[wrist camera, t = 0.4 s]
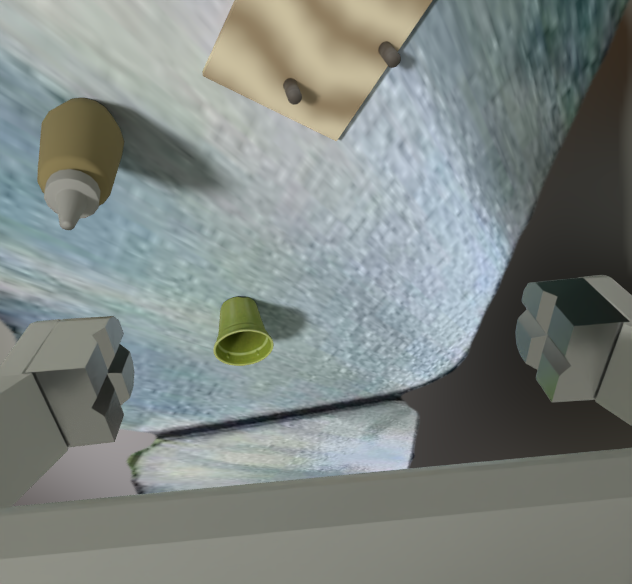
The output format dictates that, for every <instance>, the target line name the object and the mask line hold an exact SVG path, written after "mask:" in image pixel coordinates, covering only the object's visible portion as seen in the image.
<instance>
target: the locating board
mask: <svg viewBox="0 0 632 584" xmlns="http://www.w3.org/2000/svg"><path fill="white" fill-rule="evenodd" d="M431 2H432V0H235V1H234V3H233V5H232V7H231V10H230V12H229V14H228V16H227V19H226V21H225V23H224V25H223V27H222V30H221V32H220V34H219V36H218V38H217V41H216V43H215V45H214V47H213V50H212V52H211V54H210V56H209V58H208V61H207V63H206V65H205V67H204V69H203V76H204V77H206V78H208V79H210V80H212V81H214V82H216V83H218V84H220V85H222V86H225V87H227V88H229V89H231V90H233V91H235V92H237V93H239V94H241V95H243V96H245V97H247V98H249V99H251V100H253V101H255V102H257V103H259V104H261V105H263V106H265V107H267V108H269V109H271V110H274V111H276V112H278V113H280V114H282V115H284V116H286V117H288V118H290V119H292V120H294V121H296V122H298V123H300V124H302V125H304V126H306V127H308V128H310V129H312V130H314V131H316V132H318V133H320V134H323V135H325V136H327V137H329V138H331V139H333V140H335V141H337V140H338V138H339V137H340V135H341V134H342V133H343V131H344V130H345V128H346V127H347V125H348V124H349V122H350V121H351V119H352V118H353V116H354V115H355V113H356V112H357V111H358V109H359V108H360V106H361V105H362V103H363V102H364V100H365V99H366V97H367V96H368V94H369V93H370V91H371V90H372V88H373V87H374V86H375V84H376V83H377V81H378V80H379V78H380V77H381V75H382V74H383V72H384V71H385V69H386V68H387V66H389V67H391V68H393V67H396V66H397V65H398V64H399V63H400V60H401V57H400V54H399V53H398V50H399V49H400V47H401V46H402V44H403V43H404V41H405V40H406V39H407V37H408V36H409V34H410V33H411V31H412V30H413V28H414V27H415V25H416V24H417V22H418V21H419V19H420V18H421V16H422V15H423V14H424V12H425V11H426V9H427V8H428V6H429V5H430V3H431Z"/></svg>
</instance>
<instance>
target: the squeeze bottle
mask: <svg viewBox="0 0 632 584" xmlns="http://www.w3.org/2000/svg"><path fill="white" fill-rule="evenodd" d="M123 146H124V140H123V137H122V134H121V130H120V128H119V126H118V125H117V123H116V121H115V120H114V118H113V116H112V115H111V114H110V113H109V111H108V110H107V109H106V108H105V107H104V106H103V105H101V104H99V103H98V102H96V101H94V100H90V99H87V98H74V99H70V100H69V101H67V102H65V103H63V104H61V105H60V106H58V107H56V108H54V109H53V110H51V111H49V112H48V114H47V116H46V117H45V119H44V120H43V122H42V127H41V139H40V151H39V162H38V184H39V186H40V188H41V190H42V192H43V193H44V199H45V201H46V203H47V205H48V206H49V207H50V208H51V209H52V210H53V211H54V212H55V213H57V214H58V216H59V222H60V226H61V227H62V228H63V229H65V230H72V229H73V228H74V227H75V225H76V224H77V222H78V220H79V219H80V218H86V217H88V216H90V215H92V214H94V213H95V211H96V210H97V209H98V207H99V205H101V204H103V203H104V202H105V201H106V200H107V198H108V197H109V196H110V194H111V190H112V187H113V184H114V180H115V177H116V173H117V170H118V167H119V163H120V160H121V157H122V152H123Z"/></svg>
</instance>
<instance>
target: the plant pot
mask: <svg viewBox="0 0 632 584" xmlns="http://www.w3.org/2000/svg"><path fill="white" fill-rule="evenodd" d="M273 345H274V344H273V340H272V338H271V337H270V336H269V335H268V333H267V331H266V330H265V328H264V325H263V322H262V320H261V317H260V314H259V311H258V308H257V305H256V303H255V302H254V301H253V300H252V299H250V298H248V297H246V298H241V297H233V298H231V299H228V300H227V301H225V302H224V303H223V305H222V307H221V310H220V323H219V334H218V337H217V341H216V343H215V345H214V355H215V357H216V358H217V359H218V360H220V361H221V362H223V363H225V364H229V365H235V366H244V365H250V364H254V363H257V362H259V361H261V360H263V359H265V358H266V357H267V356H268V355H269V354H270V353H271V351H272V349H273Z"/></svg>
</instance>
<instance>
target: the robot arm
mask: <svg viewBox="0 0 632 584" xmlns="http://www.w3.org/2000/svg"><path fill="white" fill-rule="evenodd" d="M522 302H523V303H524V305H525V306H526V308H527V310H526V311H525V312H524V313H523V314H522V315H521V316H520V317H519V318H518V321H517V327H516V342H517V347H518V350H519V353H520V355H521V356H522V358H523V360H524V361H525V363H526V364H528V365H530V366H532V367H534V368H535V369H537V370H538V371H537V375H536V379H537V381H538V383H539V384H540V385H541V387H542V388H543V390H544V391H545V393H546V394H547V396H548V397H549V399H550V400H551V402H563V401H580V400H595V399H596V402H597V403H599V404H600V405H601V406H603V407H604V408H606V409H607V410H609V411H610V412H612V413H613V414H615V415H616V416H618V417H619V418H621V419H622V420H624V421H625V422H627V423H628V424H630V425H631V426H632V295H630V294H629V293H628V292H627V291H626V290H625V289H623V288H622V287H621V286H620V285H619V284H618V283H616V282H615V281H614V280H613V279H612V278H611V277H608V276H605V275H598V276H589V277H580V278H574V279H565V280H554V281H545V282H536V283H528V285H527V286H526V288H525V290H524V293H523V298H522ZM123 335H124V333H123V330H122V327H121V324H120V322H119V320H118V319H117V318H116V317H114V316H107V317H91V318H74V319H63V320H60V319H57V320H46V321H37V322H34V323H31V324H30V325H29V326H28V328H27V329H26V331H25V332H24V333H23V335H22V336H21V337H20V339H19V340H18V342H17V343H16V344H15V346H14V347H13V349H12V350H11V352H10V353H9V354H8V356H7V357H6V358H5V360H4V361H3V363H2V364H1V365H0V584H632V448H627V449H617V450H605V451H595V452H583V453H574V454H563V455H552V456H541V457H530V458H519V459H508V460H497V461H488V462H477V463H465V464H455V465H444V466H433V467H423V468H412V469H401V470H391V471H380V472H370V473H360V474H349V475H339V476H328V477H318V478H307V479H297V480H287V481H276V482H266V483H255V484H245V485H234V486H224V487H213V488H203V489H192V490H181V491H171V492H160V493H150V494H139V495H129V496H119V497H108V498H97V499H87V500H77V501H66V502H55V503H46V504H45V503H44V504H34V505H23V506H14V507H12V506H13V505H14V503H16V501H17V500H19V499H20V498H21V497H22V495H24V494H25V493H26V491H28V490H29V489H30V487H32V486H33V485H34V484H35V483H36V482H37V480H38V479H39V478H40V477H42V476H43V475H44V474H45V473H46V472H47V470H49V468H50V467H52V466H53V465H54V464H55V463H56V461H58V459H60V458H61V457H62V456H63V454H65V453H66V452H67V450H68V447H75V446H84V445H92V444H101V443H109V442H115V439H116V436H117V434H118V431H119V428H120V425H121V422H122V419H123V416H124V413H123V410H122V408H121V405H122V404H123V403H124V402H125V401H127V400H128V399H129V398H130V396H131V393H132V390H133V386H134V366H133V360H132V357H131V354H130V351H128V350H127V349H126V348H124V347H123V346H122V345H121V344H120V342H121V339H122V337H123Z"/></svg>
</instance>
